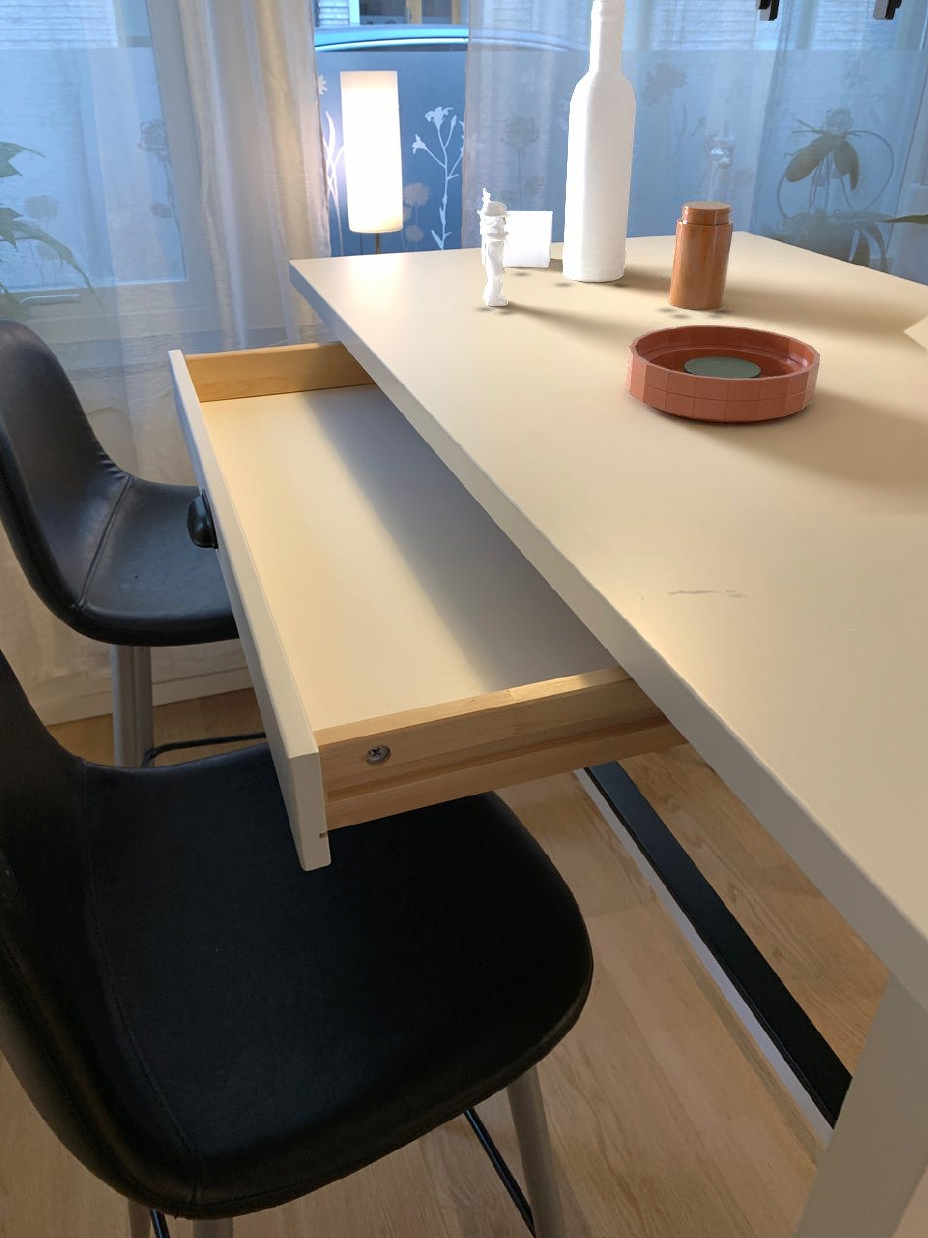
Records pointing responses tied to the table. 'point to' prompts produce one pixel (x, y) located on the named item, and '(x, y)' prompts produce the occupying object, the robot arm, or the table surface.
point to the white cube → (528, 239)
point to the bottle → (600, 156)
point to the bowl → (722, 399)
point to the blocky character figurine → (493, 248)
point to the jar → (701, 255)
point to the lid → (722, 367)
